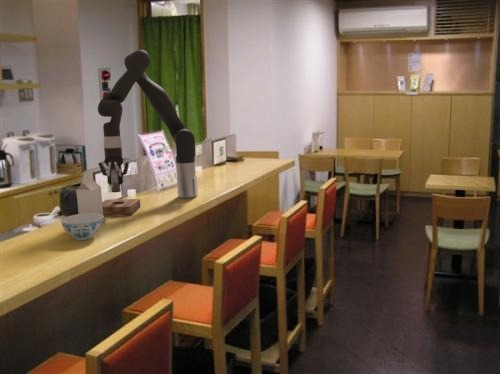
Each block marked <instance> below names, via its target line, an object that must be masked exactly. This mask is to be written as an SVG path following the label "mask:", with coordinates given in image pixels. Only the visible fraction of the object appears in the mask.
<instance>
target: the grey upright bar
mask: <svg viewBox="0 0 500 374" xmlns="http://www.w3.org/2000/svg"><path fill="white" fill-rule="evenodd" d="M110 177H111V185H110V186H111V187H110V189H111V193H120V192H121V190H122V189H121V185H119V174H118V172H117V170H116V169H111V170H110Z"/></svg>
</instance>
